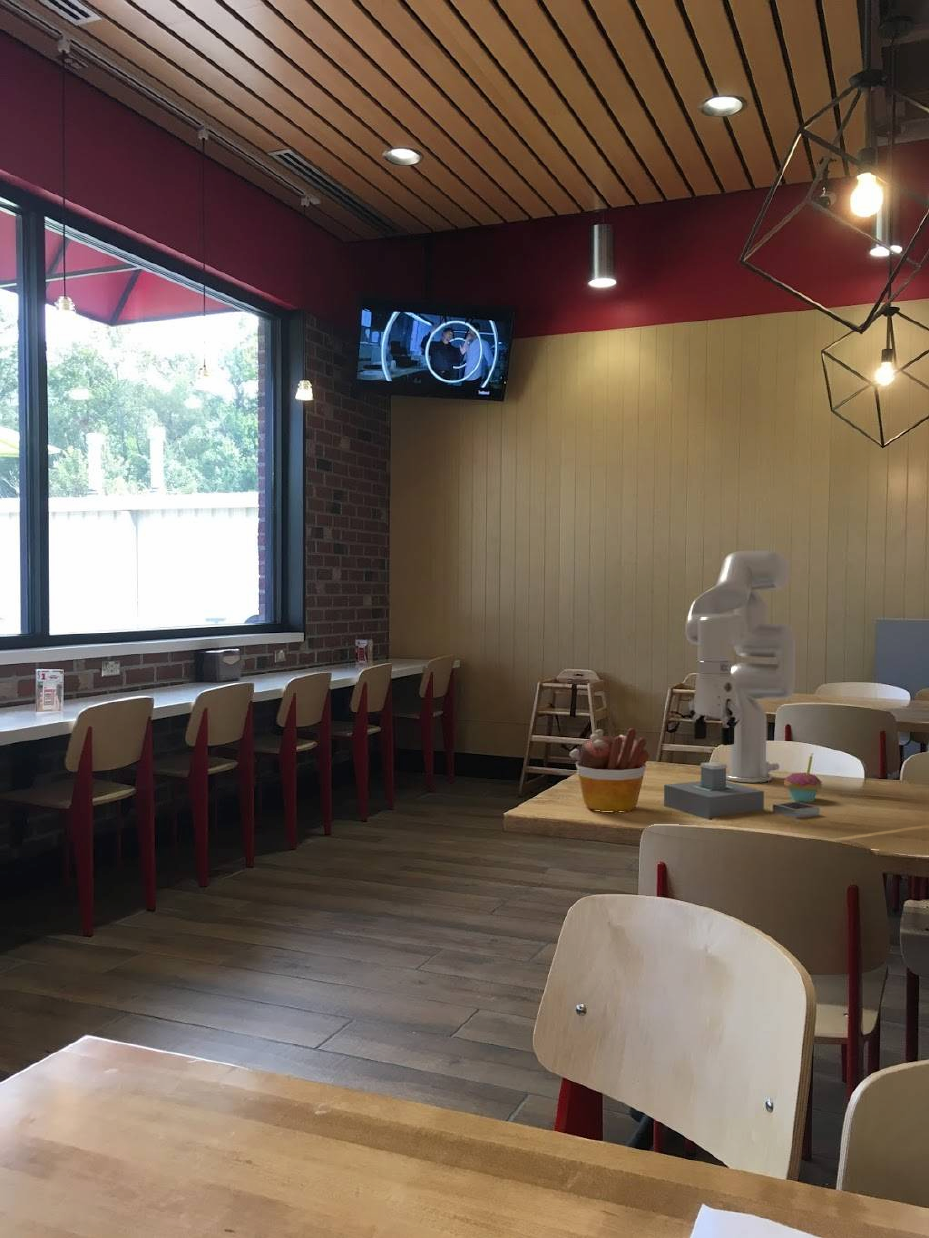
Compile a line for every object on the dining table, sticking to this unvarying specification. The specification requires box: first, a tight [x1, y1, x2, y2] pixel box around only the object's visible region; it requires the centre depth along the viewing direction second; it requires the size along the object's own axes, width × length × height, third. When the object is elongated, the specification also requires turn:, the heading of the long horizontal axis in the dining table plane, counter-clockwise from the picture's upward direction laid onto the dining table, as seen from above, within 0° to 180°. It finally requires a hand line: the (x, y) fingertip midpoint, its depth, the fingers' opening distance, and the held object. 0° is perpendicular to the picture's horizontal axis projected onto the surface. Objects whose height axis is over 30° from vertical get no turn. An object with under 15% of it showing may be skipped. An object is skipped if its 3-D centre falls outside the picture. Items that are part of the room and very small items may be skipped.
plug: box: [700, 761, 728, 791], centre depth 233 cm, size 4×4×10 cm
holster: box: [772, 801, 821, 819], centre depth 226 cm, size 7×7×2 cm
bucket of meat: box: [569, 727, 650, 812], centre depth 234 cm, size 20×16×20 cm
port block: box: [663, 780, 765, 820], centre depth 233 cm, size 16×16×5 cm
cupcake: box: [783, 753, 823, 803], centre depth 241 cm, size 9×8×12 cm
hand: (713, 741), depth 233 cm, fingers open, 9 cm apart
